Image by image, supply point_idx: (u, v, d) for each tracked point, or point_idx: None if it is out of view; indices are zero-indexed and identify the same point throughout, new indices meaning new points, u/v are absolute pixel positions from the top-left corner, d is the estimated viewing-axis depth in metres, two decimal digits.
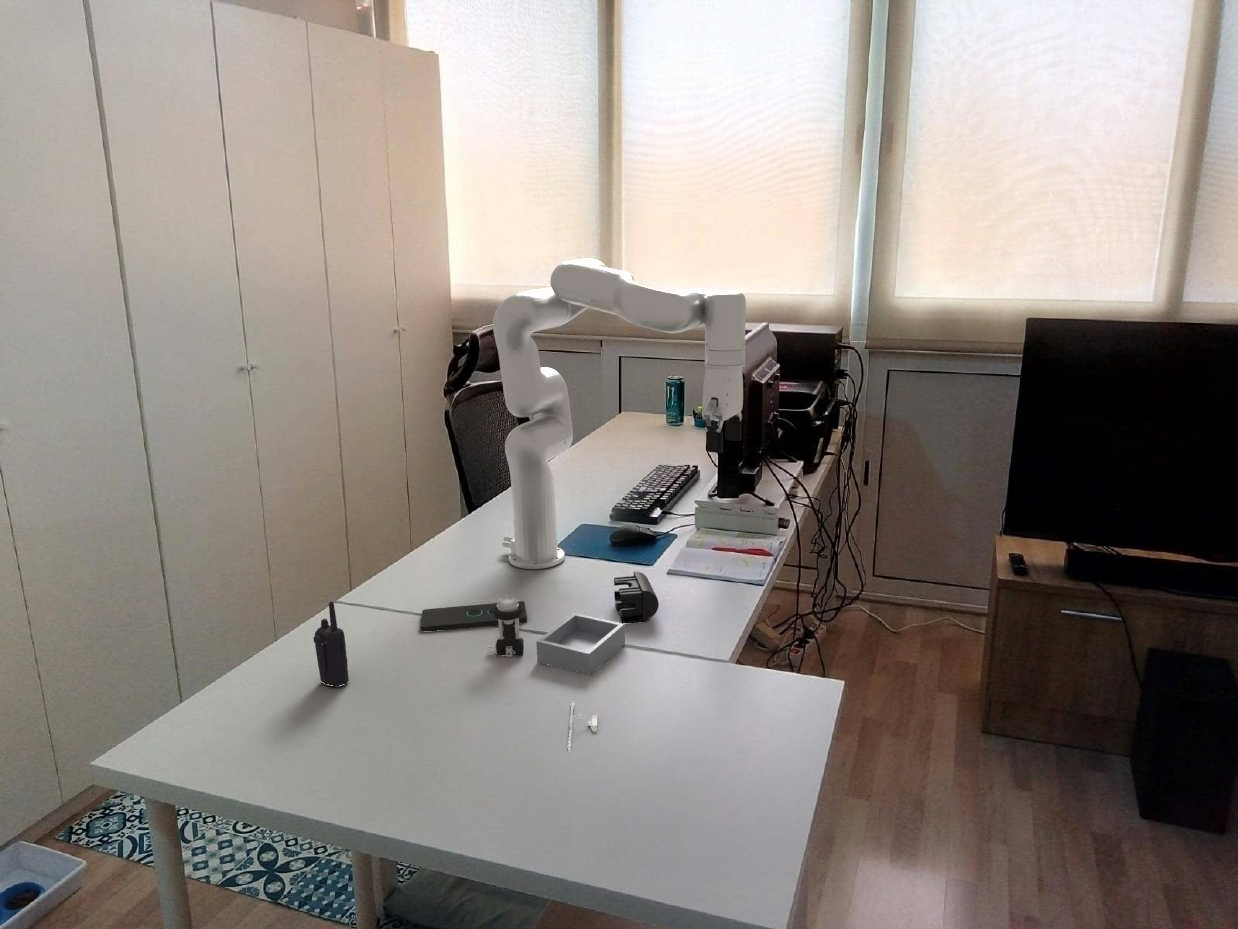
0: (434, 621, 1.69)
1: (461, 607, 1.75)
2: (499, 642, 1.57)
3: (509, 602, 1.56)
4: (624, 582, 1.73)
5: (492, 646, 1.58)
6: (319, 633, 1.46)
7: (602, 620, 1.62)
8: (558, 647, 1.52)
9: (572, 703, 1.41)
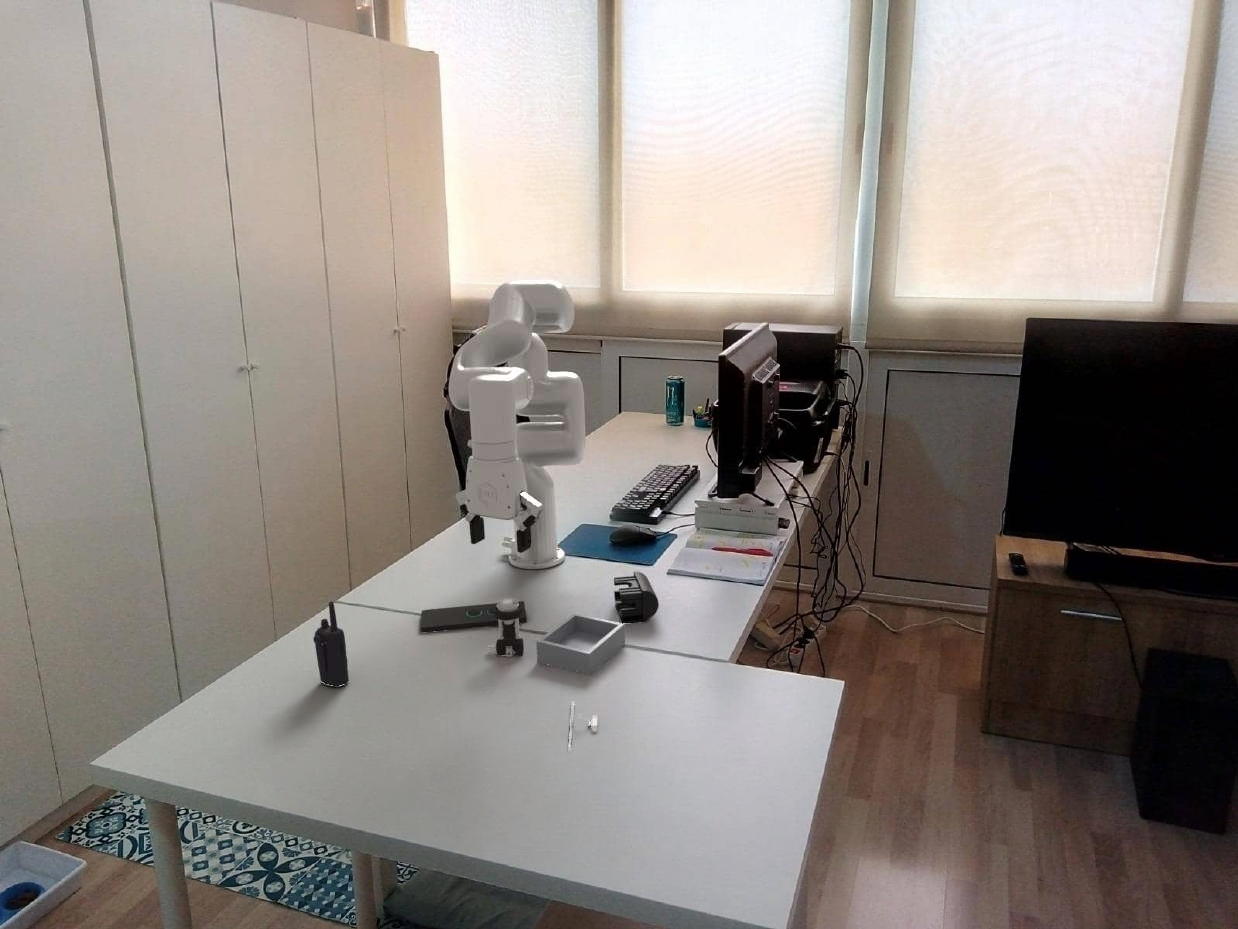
0: (434, 622, 1.69)
1: (460, 607, 1.75)
2: (499, 642, 1.57)
3: (509, 602, 1.56)
4: (624, 582, 1.73)
5: (492, 646, 1.58)
6: (319, 633, 1.46)
7: (602, 620, 1.62)
8: (558, 647, 1.52)
9: (572, 703, 1.41)
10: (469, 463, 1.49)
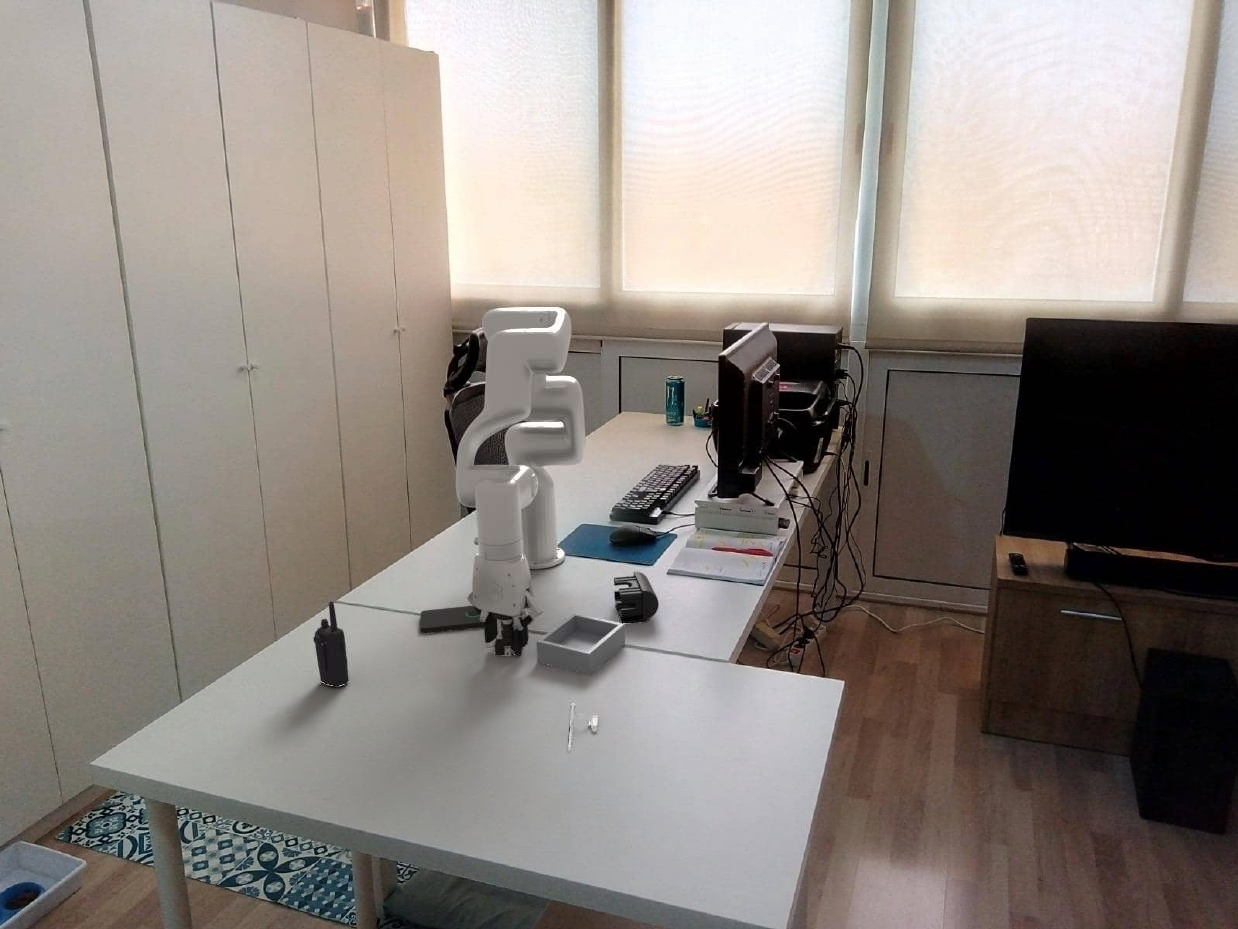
0: (434, 622, 1.69)
1: (460, 608, 1.75)
2: (498, 642, 1.57)
3: None
4: (624, 582, 1.73)
5: (491, 646, 1.58)
6: (319, 633, 1.46)
7: (602, 620, 1.62)
8: (558, 647, 1.52)
9: (572, 703, 1.41)
10: (476, 561, 1.53)
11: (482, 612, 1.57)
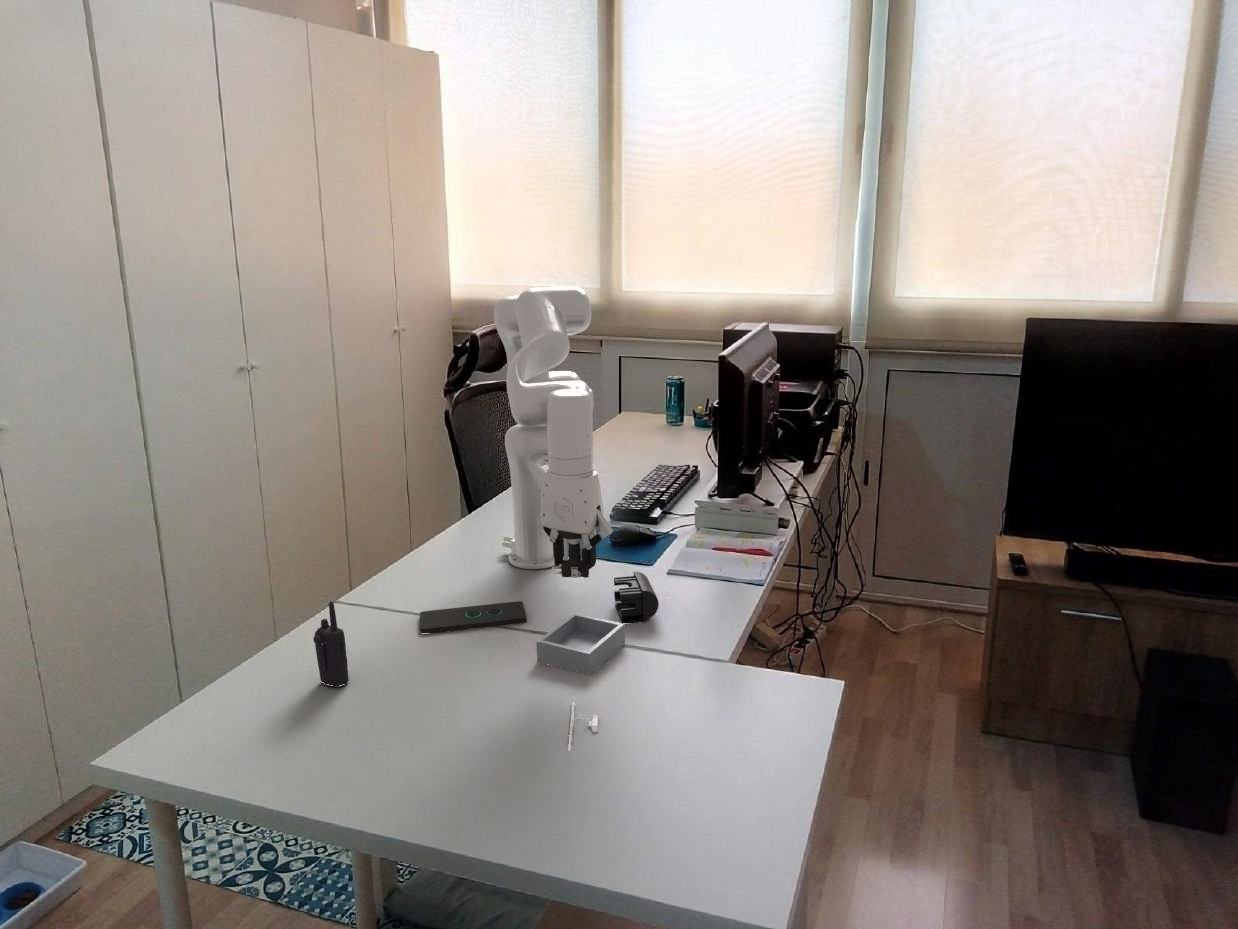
0: (433, 623, 1.69)
1: (459, 608, 1.75)
2: (564, 563, 1.53)
3: None
4: (624, 582, 1.73)
5: (557, 567, 1.54)
6: (319, 633, 1.46)
7: (602, 620, 1.62)
8: (558, 647, 1.52)
9: (573, 703, 1.41)
10: (545, 477, 1.49)
11: (552, 532, 1.52)
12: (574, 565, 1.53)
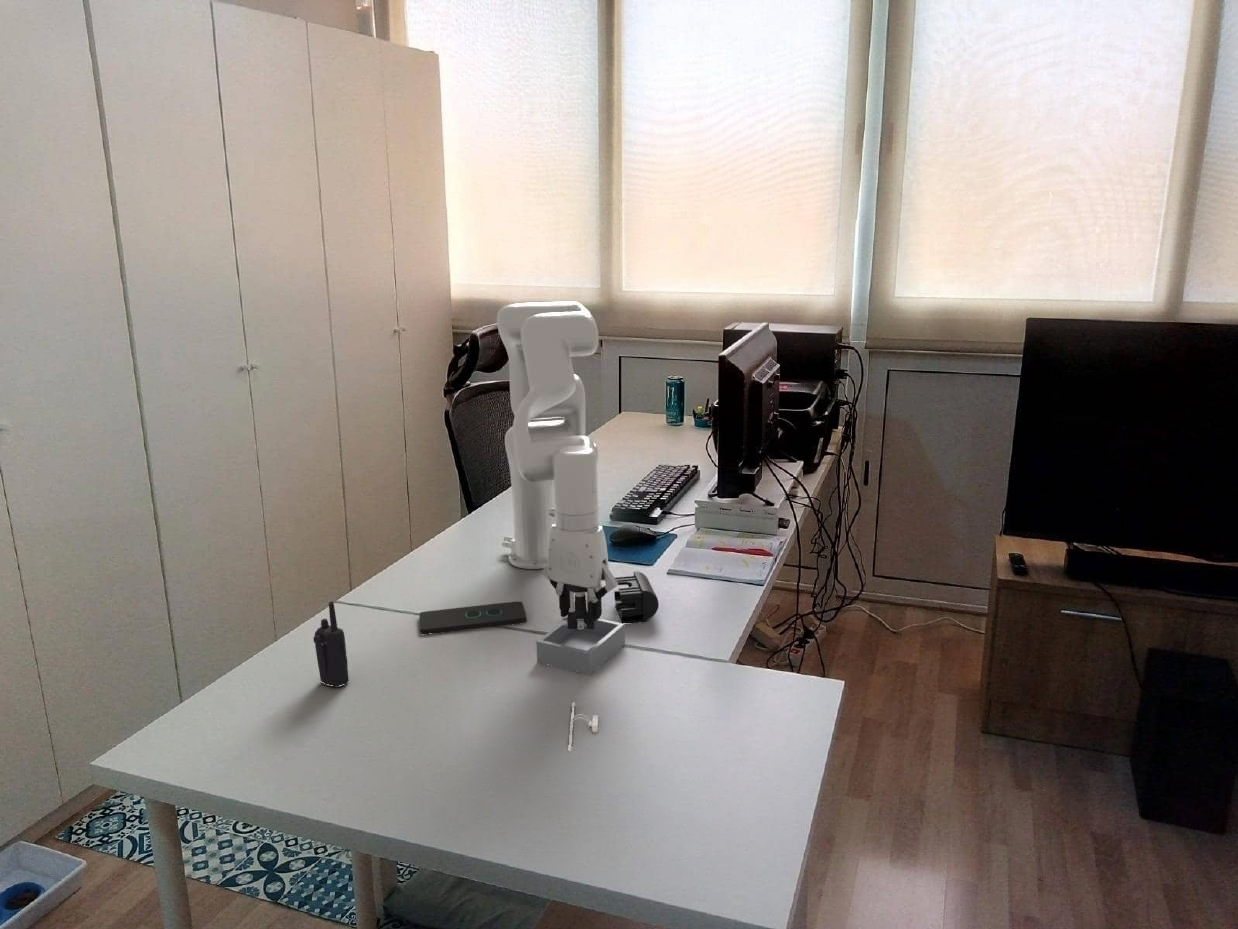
0: (433, 624, 1.68)
1: (459, 609, 1.75)
2: (570, 615, 1.56)
3: None
4: (624, 582, 1.73)
5: (563, 619, 1.57)
6: (319, 633, 1.46)
7: (602, 620, 1.62)
8: (558, 647, 1.52)
9: (573, 703, 1.41)
10: (551, 532, 1.52)
11: (558, 585, 1.55)
12: (580, 617, 1.56)
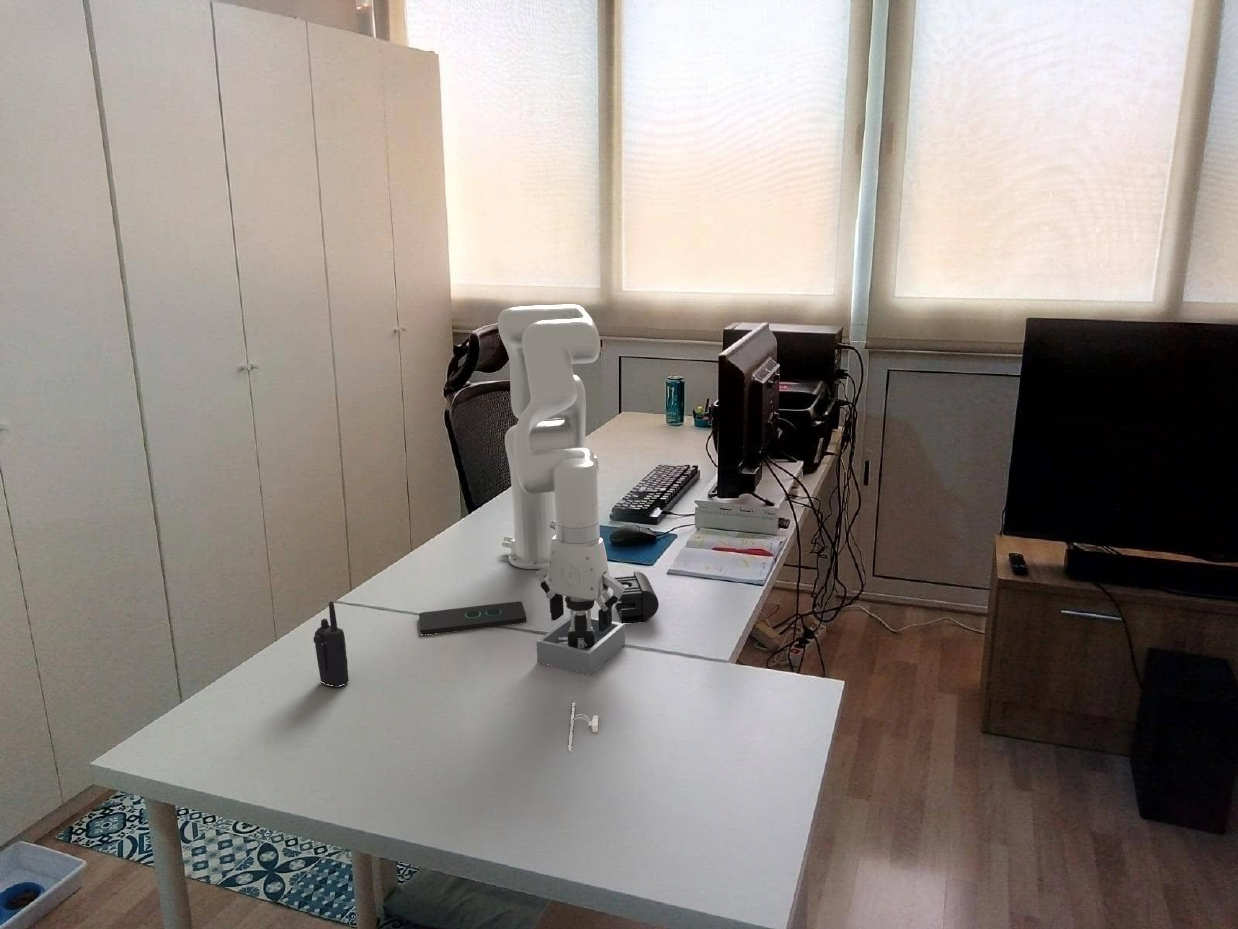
0: (433, 624, 1.68)
1: (458, 609, 1.74)
2: (571, 634, 1.57)
3: None
4: (624, 582, 1.73)
5: (563, 638, 1.58)
6: (319, 633, 1.46)
7: None
8: (558, 647, 1.52)
9: (573, 703, 1.41)
10: (552, 544, 1.52)
11: (551, 590, 1.56)
12: (580, 636, 1.57)
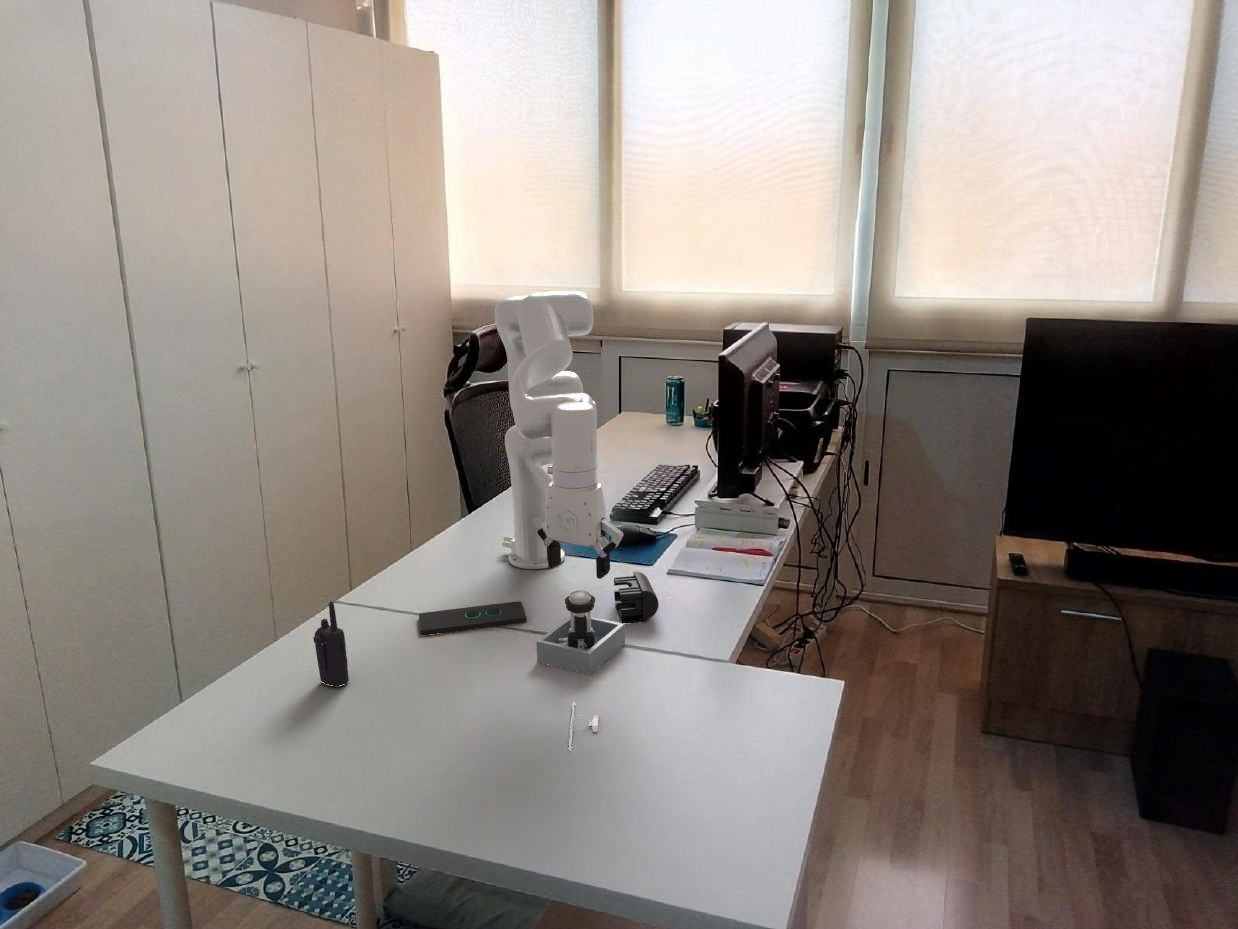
0: (433, 624, 1.68)
1: (458, 609, 1.74)
2: (571, 635, 1.57)
3: (582, 595, 1.55)
4: (624, 582, 1.73)
5: (563, 639, 1.58)
6: (319, 633, 1.46)
7: (602, 620, 1.62)
8: (558, 647, 1.52)
9: (573, 703, 1.41)
10: (549, 490, 1.50)
11: (548, 537, 1.54)
12: (580, 637, 1.57)
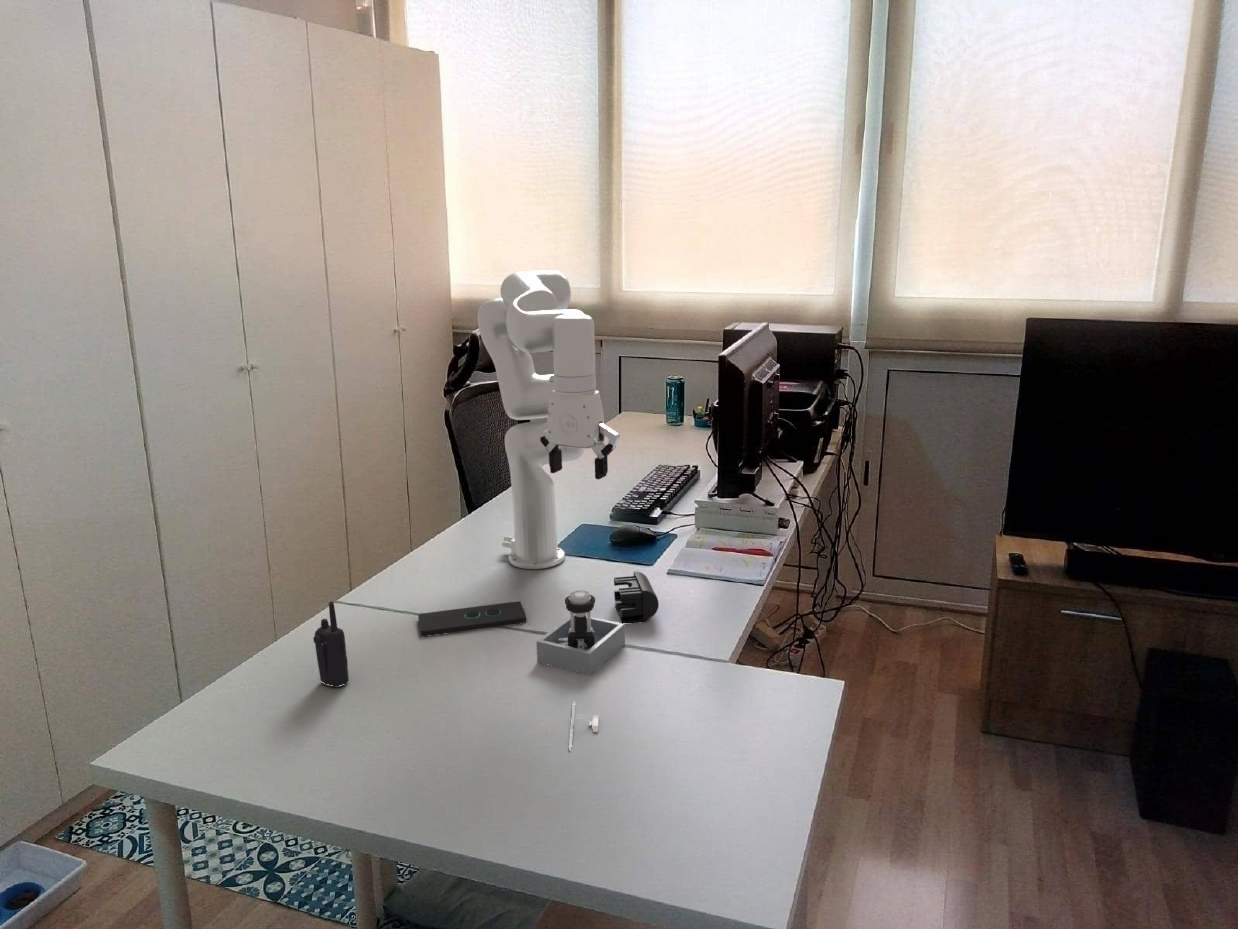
0: (433, 625, 1.68)
1: (457, 610, 1.74)
2: (571, 635, 1.57)
3: (581, 595, 1.55)
4: (624, 582, 1.73)
5: (563, 639, 1.58)
6: (319, 633, 1.46)
7: (602, 620, 1.62)
8: (558, 647, 1.52)
9: (573, 703, 1.41)
10: (551, 396, 1.62)
11: (550, 443, 1.66)
12: (580, 637, 1.57)
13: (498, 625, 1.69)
